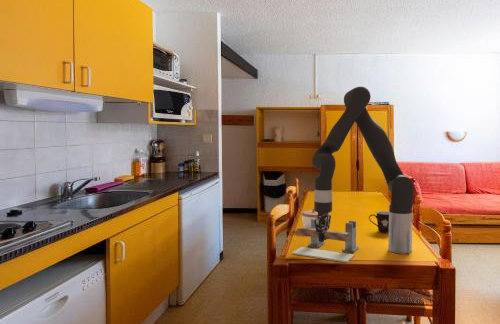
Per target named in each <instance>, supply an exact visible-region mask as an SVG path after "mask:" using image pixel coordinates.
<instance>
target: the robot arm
mask: <svg viewBox="0 0 500 324" xmlns="http://www.w3.org/2000/svg"><path fill="white" fill-rule="evenodd" d="M343 96H344V97H343V104H344V106H345V110H344V112H343V113H342V115H341V116H340V117H339V118H338V120H337V121H336V122H335V124H334V125H333V126H332V128H331V129H330V131H329V133H328V134H327V137H326V139H325V140H324V142H323V143H322V144H321V145H320V146H319V148H318V149H316V151H315V152H314V153H313V156H312V158H311V159H312V160H311V164H312V166H313V167H314V168H315V169H317V170H320V171H319V175H317V176H315V178H314V195H313V209H314V211H315V212H318V216H317V220H315V227H316V232H318V233H319V242H325V241H327V240H328V239H324V230H329V229H330V225H331V219H332V215H331V214H330V213H332V212H333V190H332V189H333V182H332V180H333V177H334V173H335V169H336V166H337V165H336V164H337V163H336V159H335V156H334V155H333V154H334V153H337V152H338V151H340V149H341V148H342V146H343V144H344V142H345V140H346V138H347V136H348V135H349V132H350V130H351V129H352V128H353V126H354V125H355V124H356V126H357V127H358V129H359V131H360V134H361V135H362V137H363V139H364V141H365V143H366V146H367V147H368V149H369V151H370V153H371V155H372V157H373V159H374V160H375V162H376V164H377V165H378V167H379V168H380V170H381V172H382V175H383V177H384V180H385V183H386V184H387V187H388V190H389V191H390V193H391V196H390V197H391V200H390V204H389V206H388V212H389V233H388V243H387V245H388V251H389V252H391V253H395V254H402V255H403V254H405V253H408V255H409V254H411V252H412V251H413V229H412V218H413V217H412V215H413V214H412V211H413V207H414V200H415V199H414V197H415V184H414V182H413V180H412V179H411V178H410V177H409V176H406V175H405V174H404V173H403V170H402V169H401V168H400V166H399V165H398V162H397V160H396V156H395V152H394V148H393V145H392V143H391V140H390V138H389V136H388V134H387V133H386V131H385V129H384V128H382V126H380V124H379V123H377V122H376V121H375V120H374V119H373V118H372V116H371V115H370V113H369V111H368V109H367V106H368V105H369V103H370V101H371V98H372V97H371V92H370V90H369V89H368V88H366V87H364V86H360V85H359V86H356V87H353V88H352V89H351V90H348V91H347V92H346V93H345V95H343ZM411 250H412V251H411Z"/></svg>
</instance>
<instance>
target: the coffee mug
mask: <svg viewBox="0 0 500 324" xmlns="http://www.w3.org/2000/svg"><path fill="white" fill-rule="evenodd" d="M373 216H374V217H375V219H376V222H377V224H376V223H375V222H373V221H372V220H371V217H373ZM368 219H369V221H370V222H371V223H372V224H373V225H375V226H376V227H377V232H378V233H381V234H389V210H388V211H386V210H382V211H376V214H369V216H368Z"/></svg>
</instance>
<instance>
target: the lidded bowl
mask: <svg viewBox="0 0 500 324" xmlns="http://www.w3.org/2000/svg"><path fill="white" fill-rule="evenodd" d="M317 216H318V212H315V211H314V208H312V209H310V210H303V211H301V219H302V224H303V227H306V228H311V219H315V217H317Z"/></svg>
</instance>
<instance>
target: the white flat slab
mask: <svg viewBox="0 0 500 324" xmlns="http://www.w3.org/2000/svg"><path fill="white" fill-rule="evenodd" d="M291 254H292V255H295V256H297V255H298V256H303V257H311V258H316V259H322V260H328V261H334V262H341V263H349V261H351V260H352V259H353V258H354V257H355V254H354V253H347V252H338V251H331V250H324V249H319V248H313V247H304V246H301V247H299V248H297V249H296V250H294V251H291Z"/></svg>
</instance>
